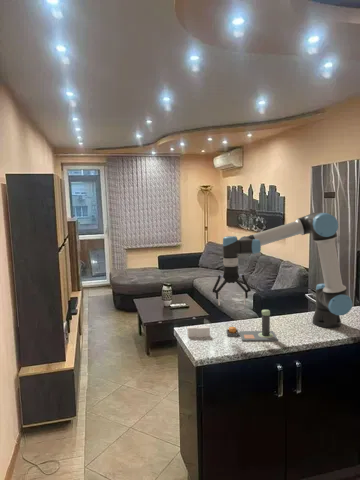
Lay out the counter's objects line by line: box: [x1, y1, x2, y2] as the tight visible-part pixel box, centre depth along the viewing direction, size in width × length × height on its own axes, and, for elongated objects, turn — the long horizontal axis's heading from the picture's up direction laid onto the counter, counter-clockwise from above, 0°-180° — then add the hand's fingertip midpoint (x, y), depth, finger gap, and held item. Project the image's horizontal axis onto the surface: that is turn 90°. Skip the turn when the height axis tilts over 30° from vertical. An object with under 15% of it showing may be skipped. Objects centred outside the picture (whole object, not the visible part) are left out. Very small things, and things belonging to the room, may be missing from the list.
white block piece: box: [186, 325, 211, 338], centre depth 189 cm, size 15×11×6 cm
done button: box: [228, 326, 237, 333], centre depth 190 cm, size 4×4×2 cm
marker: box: [261, 309, 271, 336], centre depth 185 cm, size 4×4×13 cm
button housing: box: [226, 328, 240, 337], centre depth 190 cm, size 6×6×2 cm
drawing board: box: [239, 330, 279, 342], centre depth 185 cm, size 18×12×1 cm, turn 87°
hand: (231, 304), depth 189 cm, fingers open, 13 cm apart
